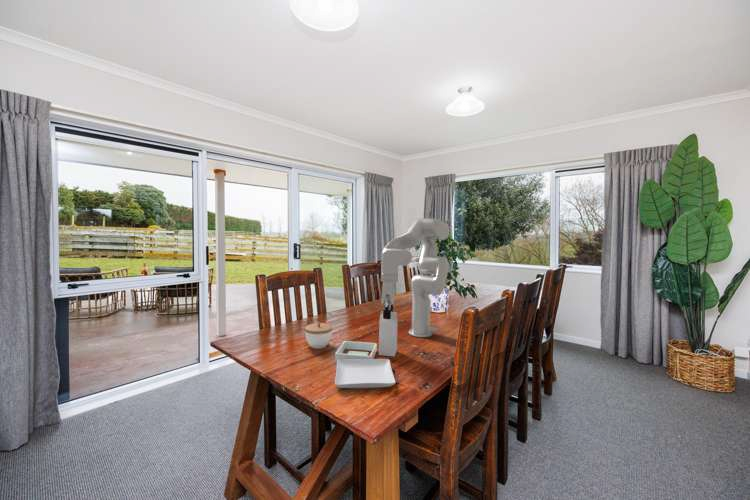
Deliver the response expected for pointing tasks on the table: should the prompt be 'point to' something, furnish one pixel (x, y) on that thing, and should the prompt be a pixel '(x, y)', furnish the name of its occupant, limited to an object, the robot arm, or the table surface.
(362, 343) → the square tray
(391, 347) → the milk carton
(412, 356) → the table surface
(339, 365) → the salad plate
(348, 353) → the pad
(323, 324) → the lidded bowl
